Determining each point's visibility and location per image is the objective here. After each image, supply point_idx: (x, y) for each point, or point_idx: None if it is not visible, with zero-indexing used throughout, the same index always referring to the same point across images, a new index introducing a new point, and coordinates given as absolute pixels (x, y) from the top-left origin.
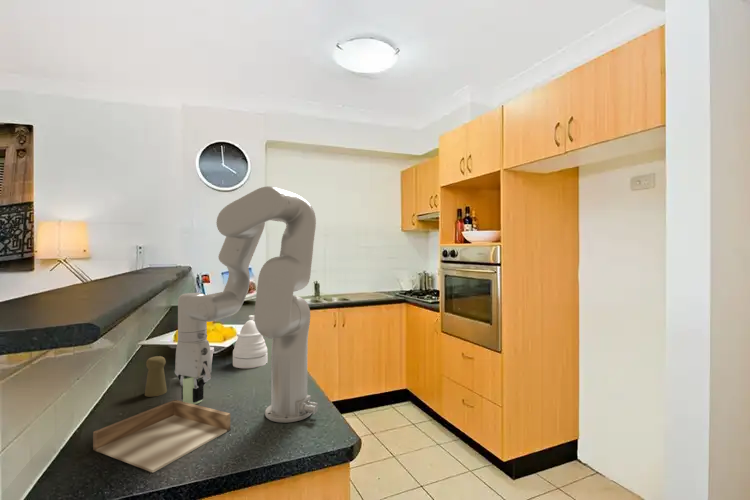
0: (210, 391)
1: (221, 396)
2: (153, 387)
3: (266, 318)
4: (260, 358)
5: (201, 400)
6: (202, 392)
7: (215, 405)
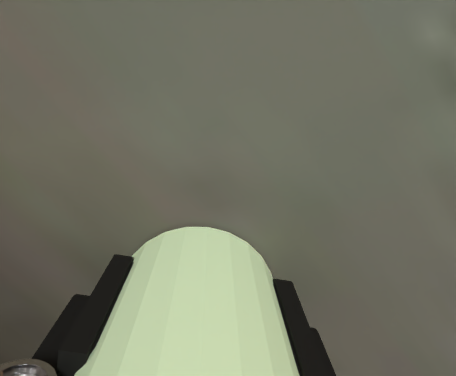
0: (175, 13)
1: (385, 116)
2: None
3: None
4: None
5: (271, 275)
6: (329, 364)
7: (437, 302)
